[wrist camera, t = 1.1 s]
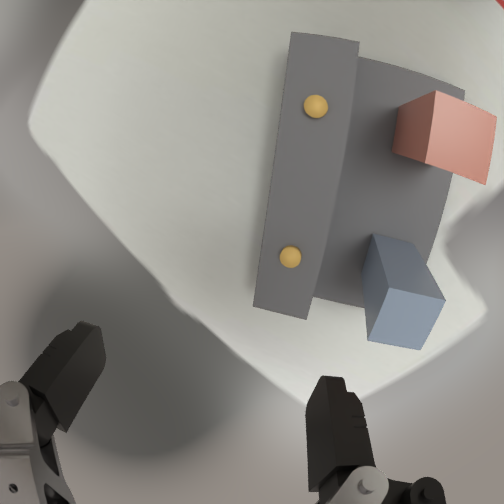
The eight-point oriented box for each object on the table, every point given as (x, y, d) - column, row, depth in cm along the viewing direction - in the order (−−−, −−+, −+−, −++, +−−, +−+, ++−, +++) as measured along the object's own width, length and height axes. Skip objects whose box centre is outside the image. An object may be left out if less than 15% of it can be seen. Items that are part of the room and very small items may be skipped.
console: (295, 49, 25) (284, 28, 19) (461, 91, 21) (488, 83, 15) (261, 279, 37) (246, 309, 31) (403, 312, 33) (412, 346, 27)
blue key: (372, 233, 30) (389, 287, 19) (413, 243, 29) (445, 300, 18) (361, 273, 32) (367, 340, 21) (399, 282, 31) (420, 350, 20)
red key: (398, 106, 24) (435, 90, 13) (441, 120, 23) (496, 116, 12) (391, 152, 26) (424, 163, 15) (434, 165, 25) (485, 185, 14)
